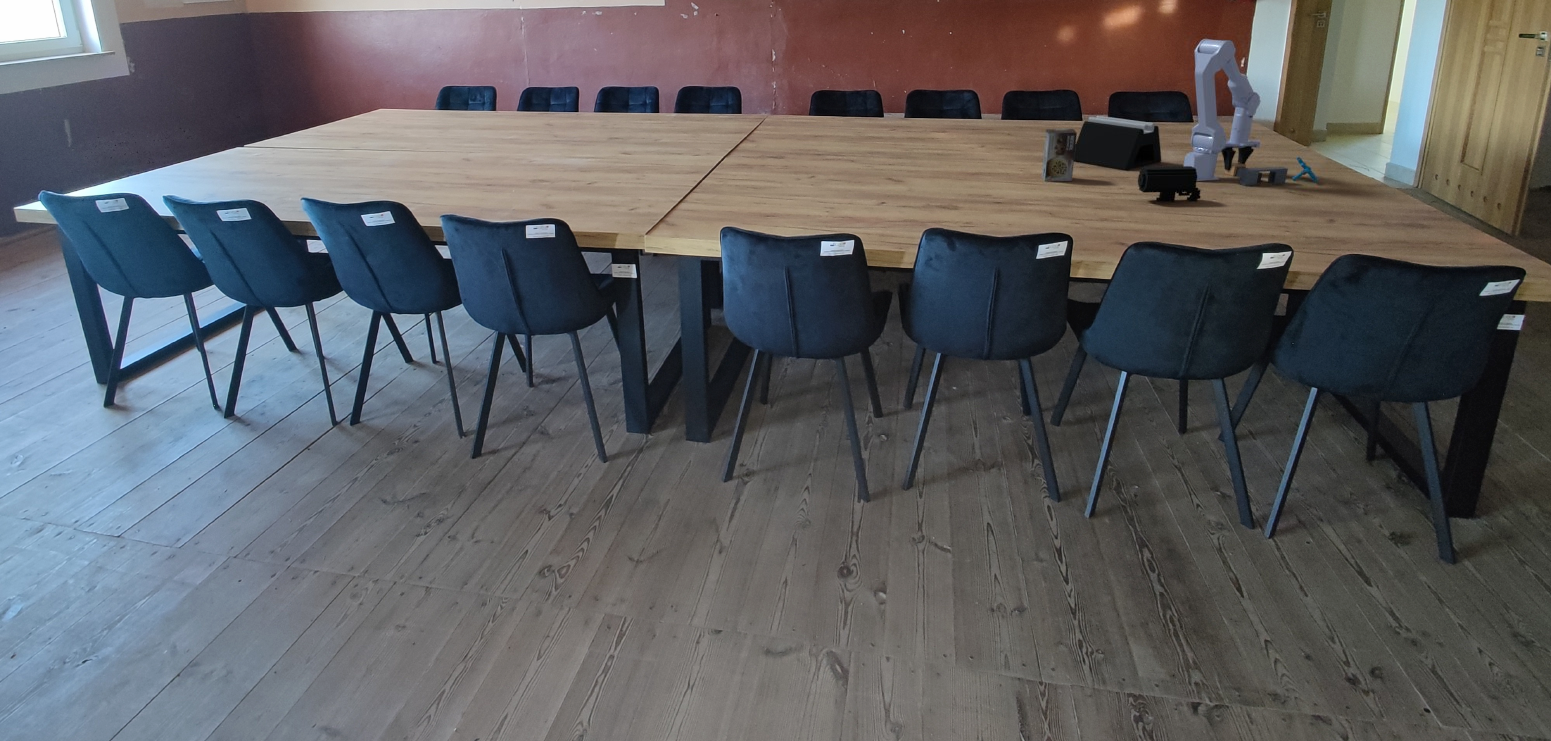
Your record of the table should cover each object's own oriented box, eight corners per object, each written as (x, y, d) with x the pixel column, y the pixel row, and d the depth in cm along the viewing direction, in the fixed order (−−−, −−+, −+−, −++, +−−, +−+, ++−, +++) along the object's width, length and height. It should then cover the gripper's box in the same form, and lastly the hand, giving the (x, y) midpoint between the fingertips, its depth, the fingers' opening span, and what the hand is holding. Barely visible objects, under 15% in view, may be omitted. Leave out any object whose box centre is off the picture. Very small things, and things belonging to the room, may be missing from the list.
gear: (1319, 181, 291) (1299, 156, 292) (1301, 192, 294) (1282, 168, 296) (1321, 179, 300) (1302, 155, 301) (1304, 190, 303) (1285, 166, 305)
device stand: (1124, 171, 316) (1131, 127, 310) (1070, 162, 332) (1075, 120, 326) (1160, 163, 328) (1167, 120, 322) (1106, 154, 345) (1111, 113, 339)
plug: (1262, 182, 297) (1264, 171, 296) (1251, 182, 297) (1253, 171, 296) (1235, 172, 311) (1237, 162, 310) (1224, 173, 311) (1226, 162, 309)
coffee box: (1068, 177, 308) (1074, 128, 302) (1072, 181, 303) (1077, 132, 296) (1040, 177, 309) (1045, 128, 303) (1044, 181, 303) (1049, 132, 297)
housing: (1244, 186, 293) (1247, 170, 291) (1239, 184, 295) (1242, 168, 293) (1284, 184, 294) (1288, 168, 292) (1278, 182, 297) (1282, 166, 295)
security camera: (1202, 203, 274) (1208, 170, 270) (1141, 204, 274) (1146, 170, 270) (1193, 197, 280) (1199, 165, 276) (1133, 198, 280) (1138, 166, 276)
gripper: (1228, 131, 299) (1220, 173, 304) (1268, 130, 300) (1260, 171, 306) (1215, 128, 305) (1208, 168, 311) (1255, 126, 307) (1247, 166, 312)
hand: (1233, 169), depth 309 cm, fingers closed on plug, 4 cm apart
